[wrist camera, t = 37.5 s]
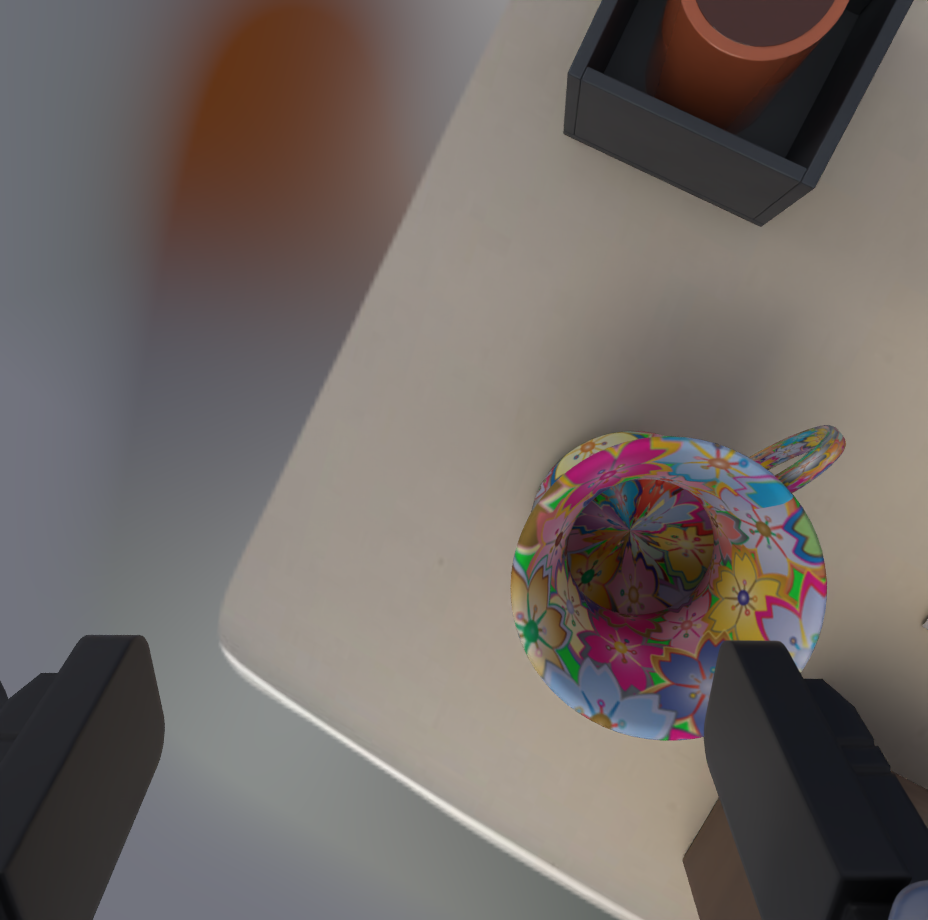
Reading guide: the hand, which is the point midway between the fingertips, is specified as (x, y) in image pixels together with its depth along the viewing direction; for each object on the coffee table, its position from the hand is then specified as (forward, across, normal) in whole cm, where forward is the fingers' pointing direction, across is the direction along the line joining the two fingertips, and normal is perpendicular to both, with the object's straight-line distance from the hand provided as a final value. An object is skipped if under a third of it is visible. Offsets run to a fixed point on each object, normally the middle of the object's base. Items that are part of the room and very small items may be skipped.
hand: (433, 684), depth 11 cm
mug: (+21, -9, +9) cm, 25 cm away
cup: (+27, -10, -7) cm, 29 cm away
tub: (+27, -11, -7) cm, 30 cm away
